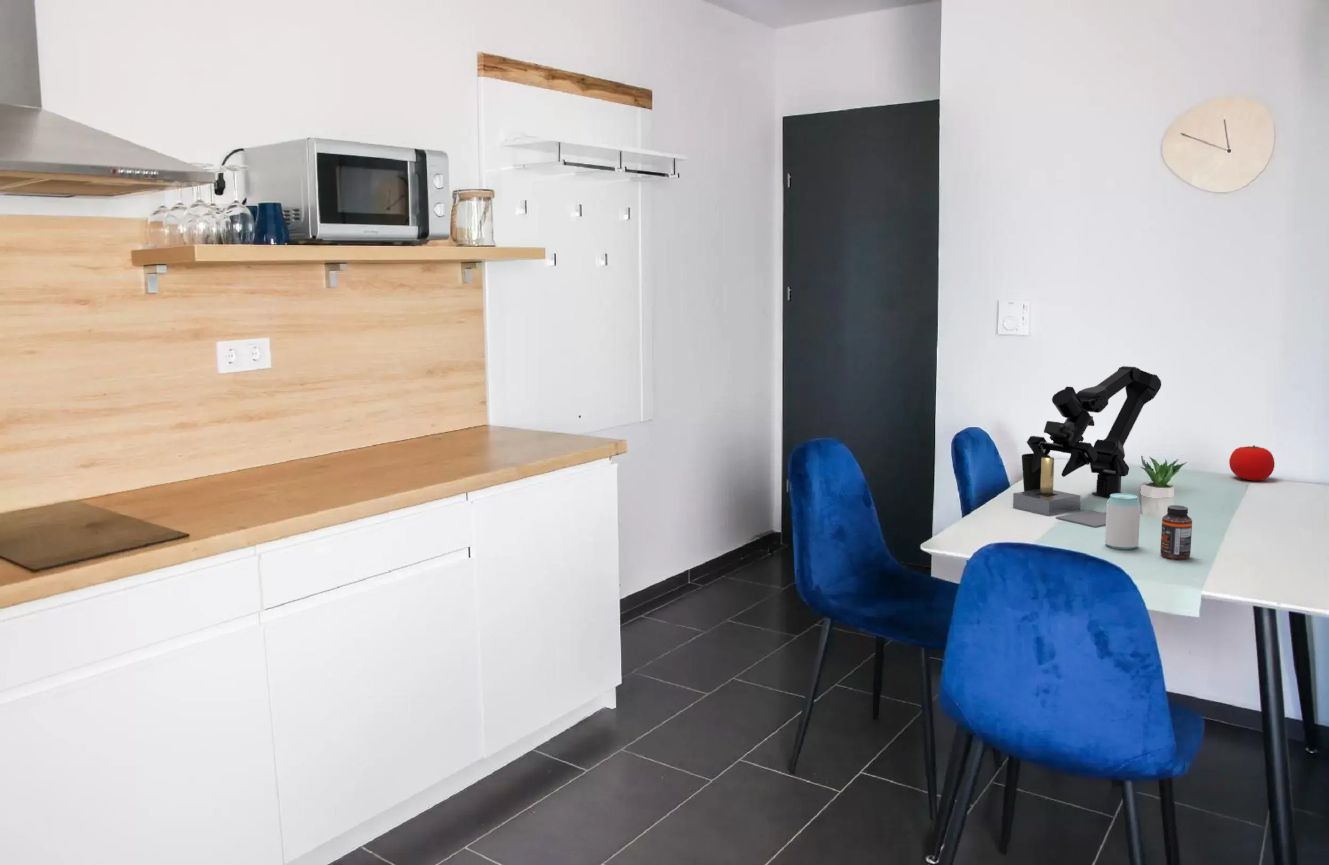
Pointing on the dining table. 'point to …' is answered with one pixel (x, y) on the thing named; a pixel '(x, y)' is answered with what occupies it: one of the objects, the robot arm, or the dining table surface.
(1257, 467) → the tomato
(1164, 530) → the supplement bottle
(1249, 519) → the dining table surface
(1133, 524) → the can
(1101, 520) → the mat
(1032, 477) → the cup
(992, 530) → the dining table surface
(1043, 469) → the pin
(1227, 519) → the dining table surface
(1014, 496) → the grey square hole block
